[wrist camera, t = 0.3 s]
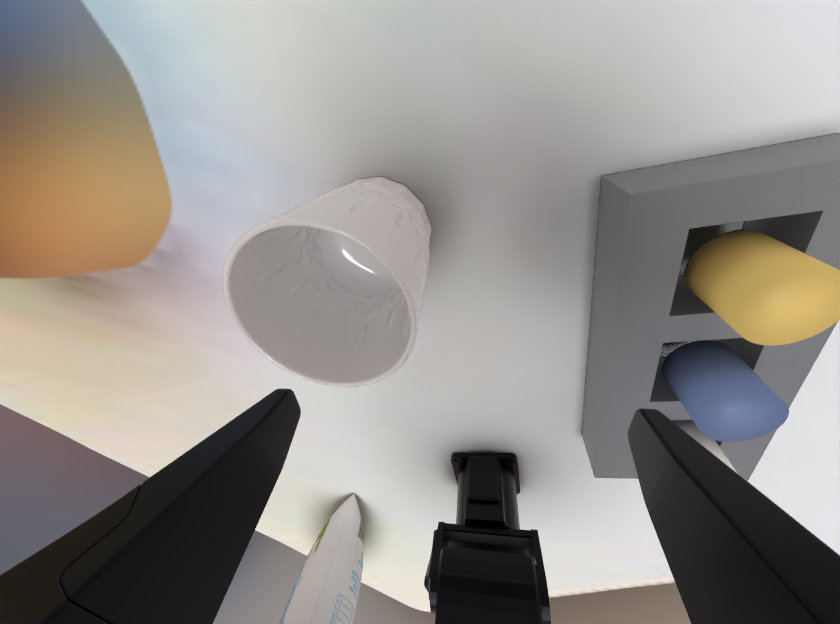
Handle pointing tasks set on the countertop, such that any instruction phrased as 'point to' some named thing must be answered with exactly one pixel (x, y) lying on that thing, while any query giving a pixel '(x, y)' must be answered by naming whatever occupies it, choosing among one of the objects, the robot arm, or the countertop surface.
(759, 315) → the ochre key
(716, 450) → the white key
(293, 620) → the pouch
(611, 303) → the key block
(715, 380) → the navy key
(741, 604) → the robot arm
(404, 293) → the white cup
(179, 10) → the countertop surface
